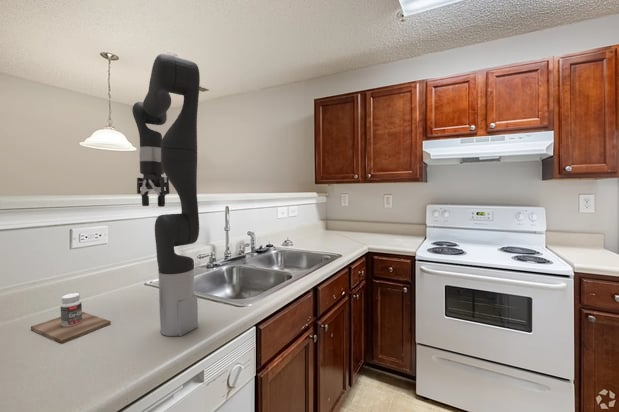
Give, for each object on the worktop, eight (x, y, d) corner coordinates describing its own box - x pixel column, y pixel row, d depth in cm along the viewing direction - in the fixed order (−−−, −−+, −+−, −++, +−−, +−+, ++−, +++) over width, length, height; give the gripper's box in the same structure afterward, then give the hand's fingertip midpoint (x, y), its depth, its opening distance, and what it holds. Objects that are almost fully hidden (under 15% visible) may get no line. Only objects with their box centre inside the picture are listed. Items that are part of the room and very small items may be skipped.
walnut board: (110, 324, 85) (110, 321, 85) (61, 343, 75) (61, 340, 75) (79, 313, 93) (79, 310, 93) (30, 330, 82) (30, 326, 82)
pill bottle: (70, 328, 81) (68, 299, 81) (57, 326, 82) (55, 297, 82) (86, 320, 86) (85, 293, 85) (73, 319, 87) (72, 292, 86)
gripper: (128, 160, 102) (130, 206, 103) (155, 158, 95) (157, 207, 96) (148, 162, 108) (150, 205, 109) (174, 160, 102) (176, 206, 103)
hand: (153, 206), depth 103 cm, fingers open, 8 cm apart
